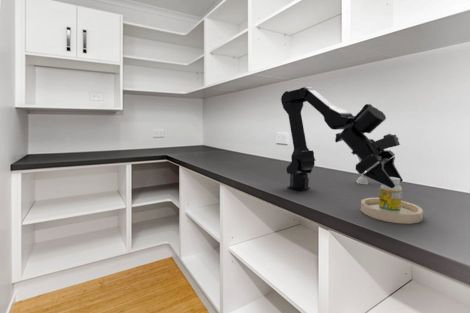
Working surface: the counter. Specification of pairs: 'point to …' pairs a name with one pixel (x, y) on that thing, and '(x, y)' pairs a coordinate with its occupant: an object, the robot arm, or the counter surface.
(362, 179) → the chalice
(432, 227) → the counter surface
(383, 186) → the supplement bottle
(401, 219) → the round tray
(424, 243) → the counter surface
